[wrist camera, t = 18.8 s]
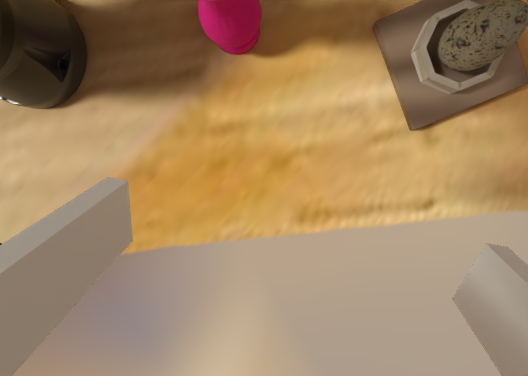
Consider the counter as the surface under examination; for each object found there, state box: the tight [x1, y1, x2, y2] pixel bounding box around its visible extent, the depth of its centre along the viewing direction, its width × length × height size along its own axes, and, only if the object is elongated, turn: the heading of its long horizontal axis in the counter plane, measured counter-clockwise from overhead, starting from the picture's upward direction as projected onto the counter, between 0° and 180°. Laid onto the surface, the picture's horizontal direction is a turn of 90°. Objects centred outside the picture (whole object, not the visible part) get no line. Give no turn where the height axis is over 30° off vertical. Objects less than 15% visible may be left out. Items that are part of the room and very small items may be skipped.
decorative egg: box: [438, 0, 528, 71], centre depth 29 cm, size 6×6×10 cm
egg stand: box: [373, 0, 528, 130], centre depth 33 cm, size 14×14×4 cm
